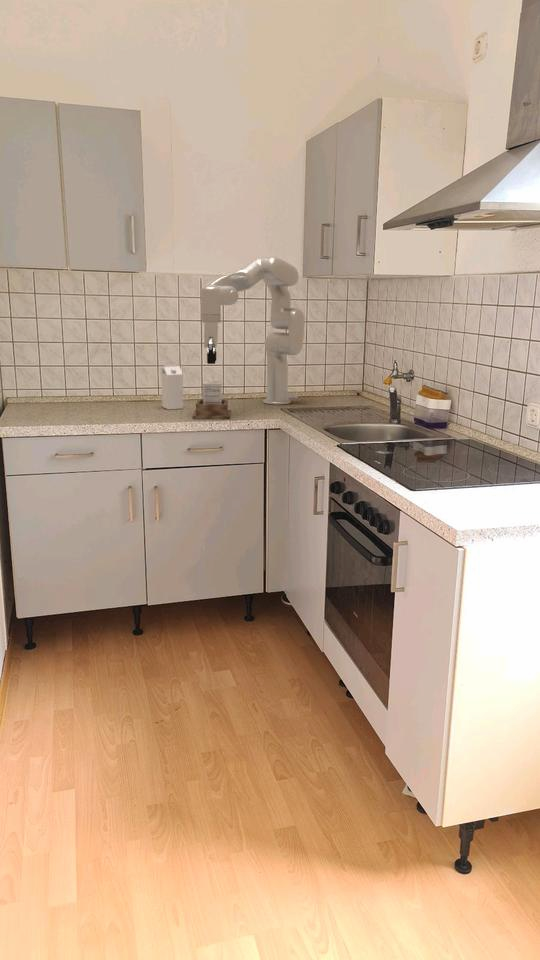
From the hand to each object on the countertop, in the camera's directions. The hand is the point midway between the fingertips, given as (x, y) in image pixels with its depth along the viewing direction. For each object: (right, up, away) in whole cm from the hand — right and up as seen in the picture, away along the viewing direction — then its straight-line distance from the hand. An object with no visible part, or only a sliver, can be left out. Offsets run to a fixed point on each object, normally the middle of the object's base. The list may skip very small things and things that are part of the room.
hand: (211, 362), depth 283 cm
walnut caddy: (0, -21, +6) cm, 22 cm away
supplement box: (0, -20, +5) cm, 21 cm away
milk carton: (-19, -16, +23) cm, 34 cm away
